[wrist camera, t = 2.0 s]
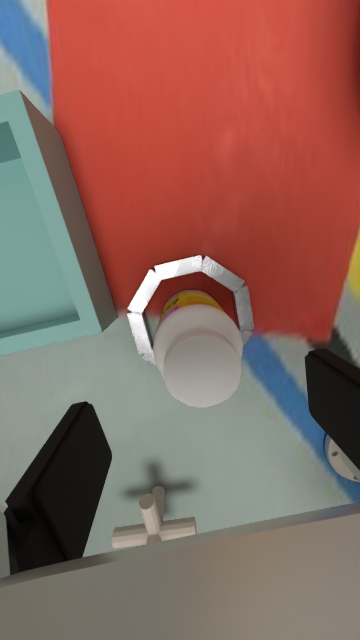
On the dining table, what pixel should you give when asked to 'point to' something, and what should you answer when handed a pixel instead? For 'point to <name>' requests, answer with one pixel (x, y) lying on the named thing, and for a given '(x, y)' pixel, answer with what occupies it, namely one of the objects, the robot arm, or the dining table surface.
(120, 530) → the pipe connector
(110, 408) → the dining table surface
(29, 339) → the bin
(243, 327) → the collar
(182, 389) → the supplement bottle
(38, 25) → the dining table surface
